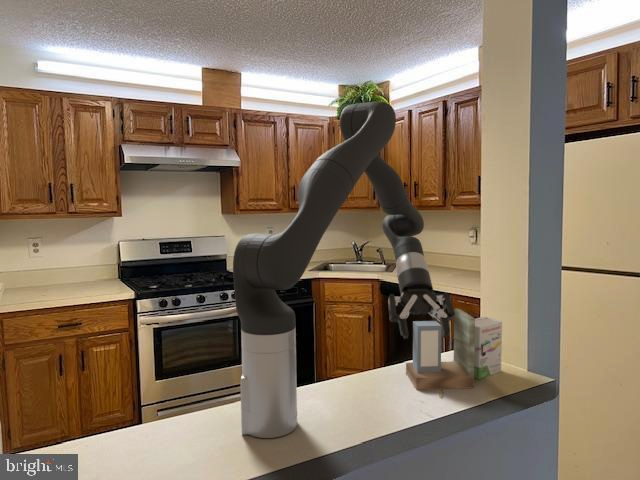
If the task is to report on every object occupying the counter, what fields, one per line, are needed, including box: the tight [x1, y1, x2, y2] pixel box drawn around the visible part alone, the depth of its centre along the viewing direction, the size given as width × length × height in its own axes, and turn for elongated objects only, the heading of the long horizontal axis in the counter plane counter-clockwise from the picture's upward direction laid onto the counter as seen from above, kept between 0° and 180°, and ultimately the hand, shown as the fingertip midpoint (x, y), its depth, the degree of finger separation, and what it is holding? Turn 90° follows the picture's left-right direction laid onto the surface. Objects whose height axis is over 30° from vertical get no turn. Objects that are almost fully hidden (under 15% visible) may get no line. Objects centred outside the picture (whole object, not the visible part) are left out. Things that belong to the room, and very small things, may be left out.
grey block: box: [412, 320, 442, 373], centre depth 99 cm, size 5×4×10 cm
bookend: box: [405, 308, 476, 391], centre depth 99 cm, size 12×9×14 cm
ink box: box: [474, 316, 503, 380], centre depth 104 cm, size 8×5×12 cm, turn 126°
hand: (426, 336), depth 101 cm, fingers open, 8 cm apart
